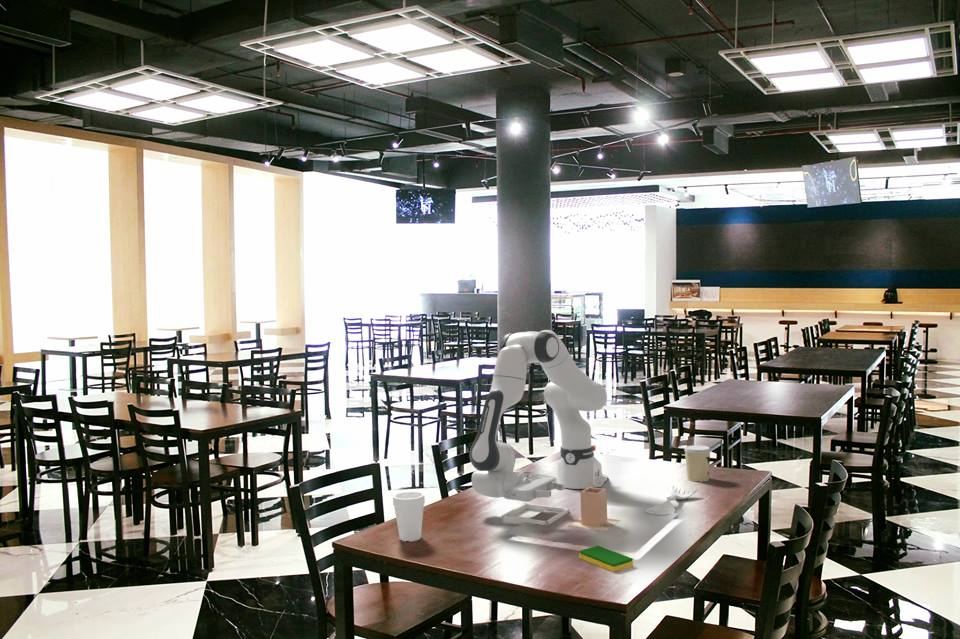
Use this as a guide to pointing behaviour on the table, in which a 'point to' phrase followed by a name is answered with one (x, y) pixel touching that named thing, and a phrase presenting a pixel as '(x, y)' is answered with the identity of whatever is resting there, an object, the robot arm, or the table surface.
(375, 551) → the table surface
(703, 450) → the coffee cup
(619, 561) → the dish sponge
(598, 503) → the sleeve
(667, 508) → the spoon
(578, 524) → the stand
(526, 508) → the tray
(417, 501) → the foam cup
